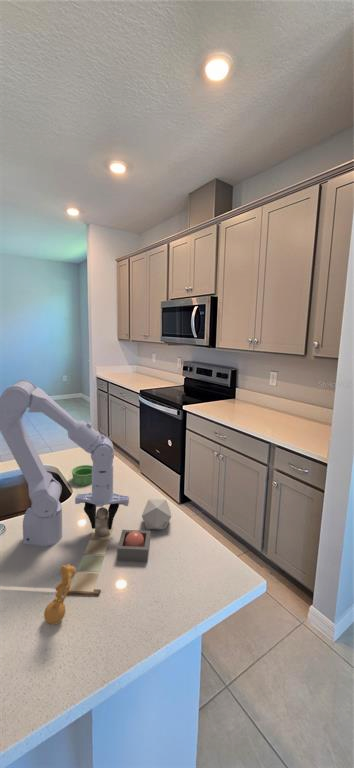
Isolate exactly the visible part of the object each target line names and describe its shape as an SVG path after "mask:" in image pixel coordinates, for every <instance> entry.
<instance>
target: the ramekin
mask: <svg viewBox="0 0 354 768" xmlns="http://www.w3.org/2000/svg"><path fill="white" fill-rule="evenodd" d="M92 466H93V465H89V464H83V465H78V466H75V467H73V468H72V469H71V473H72V475H71V476H72V481H73V482H72V483H74V484H75V485H77V484H78V485H77V486H89V485H92Z"/></svg>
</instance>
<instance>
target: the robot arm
mask: <svg viewBox="0 0 354 768" xmlns="http://www.w3.org/2000/svg"><path fill="white" fill-rule="evenodd" d="M27 408H29V409H28V411H27ZM26 411H27V413H42V414H43V415H45V416H46V417H48V418H49V419H51V420H52V421H54V422H55V423H56V424H57V425H58V426H60V427H62V428H63V429H65V430H66V431H67V437H68V439H70V440H71V441H72V442H73V443H74V444H75V445H77V446H79V448H81V449H82V450H83V451H85V452H86V453H87V454H90V459H91V460H92V465H91V466H92V483H91V492H90V493H89V492H87V493H77V494H76V495H75V497H74V498H75V499H74V504H75V505H79V504H84V507H83V511H84V513H85V514H86V516H87V518H88V520H89V523H90V526H91V529H92V530H94V529H95V516H96V513H97V507H98V508H101V507H104V506H107V505H109V506H108V509H107V510H108V514H109V525H108V529H110V530H111V528H112V527H113V523H114V518H115V516H116V514H117V512H118V509H119V508H120V507H119V506H120V505H123V506H124V507H129V504H130V496H129V495H122V494H118V493H114V458H115V453H114V444H113V441H112V440H111V439H110V437H109V436H105V434H102V433H100V432H98V431H97V430H96V429H94V428H93V427H92V423H91V422H90V421H87V422H86V421H85V420H82V419H81V420H77V419H75V418H74V417H73V416H71V415H70V414H69V413H68V412H67V411H66V410H65V409H64V408H62V406H60V405H59V404H58V403H57V402H56V401H55V400H53V399H52V398H51V397H50V396H49V395H48V394H47V393H46V392H45V391H44V390H43V389H42V388H40V387H39V386H36V385H35V383H33V382H32V381H31V380H27V379H20V380H18V381H16V382H15V383H14V384H12V385H11V386H8V387H7V388H6V389H4V390H3V392H2V394H1V395H0V433H1V435H2V437H3V439H4V441H5V442H6V445H7V446H8V449H9V450H10V452H11V454H12V456H13V458H14V460H15V462H16V464H17V466H18V467H19V470H20V471H21V473H22V475H23V477H24V479H25V481H26V482H27V484H28V485H27V486H28V498H29V499H30V501H31V506H30V507H29V508H27V510H26V511H25V513H24V516H23V518H22V519H23V520H22V539H23V540H22V541H23V542H22V543H23V545H33V546H34V545H35V546H39V547H49V546H53V545H56V544H57V543H59V542H60V541H61V540H62V539H63V506H62V503H61V502H60V497H61V495H62V491H63V488H62V485H61V483H60V482H59V481H58V480H56V479H55V477H53V474H52V473H51V472H48V470H47V469H46V467H45V465H44V464H43V461H42V459H41V457H40V456H39V453H38V451H37V450H36V447H35V446H34V444H33V441H32V440H31V438H30V436H29V434H28V431H27V429H26V428H25V426H24V423H23V422H22V420H23V417H24V416H25V415H24V414H25V413H26Z"/></svg>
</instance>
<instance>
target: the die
mask: <svg viewBox="0 0 354 768" xmlns="http://www.w3.org/2000/svg"><path fill="white" fill-rule="evenodd" d="M141 518H142V520H143V523H144V525H145V528H146V529H147V530H166V529H167V527H168V524H169V523H170V520H171V518H172V512H171V509H170V506H169V503H168V500H167V499H158V498H157V499H156V498H155V499H154V498H151V499H150V498H149V499H148V500H147V502H146V505H145V506H144V509H143V511H142V515H141Z"/></svg>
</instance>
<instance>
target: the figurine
mask: <svg viewBox="0 0 354 768" xmlns="http://www.w3.org/2000/svg"><path fill="white" fill-rule="evenodd" d="M76 572H77V570H76V567H75V566H74V565H71V564H69V563H68V564H66V565H65V564H64V565H62V566H61V568H60V572H59V575H61V574H62V575H61V578H62V579H61V581H60V582H59V583H58V585H56V587H55V590H56V592H55V599H53V600H52V601H50V602H49V603H48V604H47V605H46V607H45V608H44V612H43V616H44V617H43V618H44V620H45V622H46V623H47V624H49V625H56V624H59V623H60V622H61V621H62V620H63V619H64V618H65V614H66V606H65V604H64V601H65V598H66V596H67V593H68V591H69V589H70V586H71V584H72V580H73V578H74V577H75V574H76ZM65 590H66V591H65ZM64 592H65V593H64ZM62 593H64V594H62Z"/></svg>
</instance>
